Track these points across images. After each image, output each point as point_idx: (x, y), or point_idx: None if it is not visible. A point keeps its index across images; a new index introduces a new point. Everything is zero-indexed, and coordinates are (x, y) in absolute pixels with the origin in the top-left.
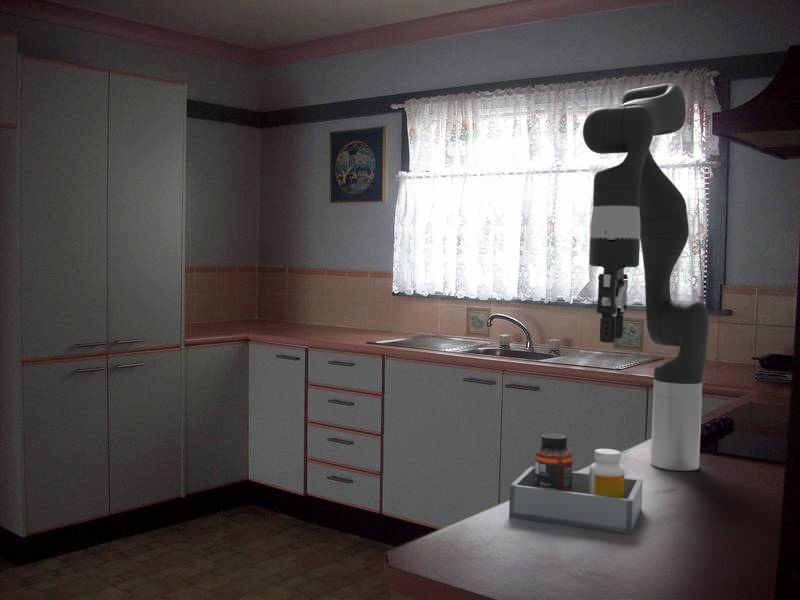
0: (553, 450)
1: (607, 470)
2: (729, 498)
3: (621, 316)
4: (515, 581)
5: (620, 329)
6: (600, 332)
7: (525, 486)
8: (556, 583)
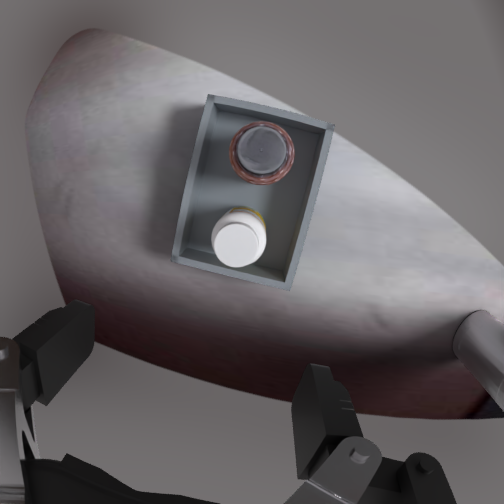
0: (236, 150)
1: (212, 238)
2: (351, 377)
3: (298, 471)
4: (42, 138)
5: (294, 423)
6: (59, 313)
7: (207, 115)
8: (44, 171)
